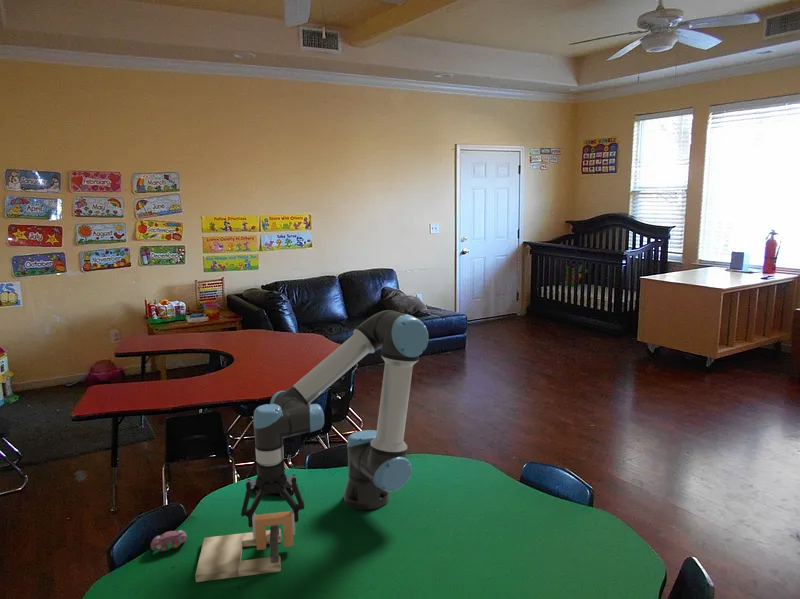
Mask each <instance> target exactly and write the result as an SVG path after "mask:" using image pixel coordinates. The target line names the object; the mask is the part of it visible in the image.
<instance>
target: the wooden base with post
mask: <svg viewBox="0 0 800 599" xmlns="http://www.w3.org/2000/svg"><path fill="white" fill-rule="evenodd" d="M279 526H280V524H278V525H270V526H269V530H267V529H266V545H269V552H270V554H269V555H270V556H268V557H261V558H260V557H259V558H254V559H253V558H252V559H246V560H242V554H243V548H247V547H251V546H253V547H255V546H257V544H256V539H254V538H253V531H251V532H250V531H249V532H243V533H233V534H226V535H217V536H208V537H207V536H206V537H204V538H203V542H202V546H201V551H200V554H199V557H198V562H197V566H196V569H195V570H196V571H195V582H196V583H200V582H206V581H214V580H224V579H231V578H238V577H239V578H240V577H245V576H246V577H247V576H253V575H255V576H256V575H261V574H262V575H263V574H268V573H269V574H270V573H278V572H281V570H282V569H281V567H282V566H281V564H282V559H281V555H279V543H282V529H281V528H280V527H279Z"/></svg>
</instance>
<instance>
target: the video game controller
mask: <svg viewBox="0 0 800 599" xmlns="http://www.w3.org/2000/svg"><path fill="white" fill-rule="evenodd" d="M187 540H188V535H187V533H186V532H185V531H184V530H182V529H180V530H169V531H166V532H164V533H162V534H160V535H156V536H155V537H154V538H153V539H152V540H151V542H150V549H151V551H153V552H154V551H160V552H162V551H163V552H165V551H167V550H168V549H169V546H168V544H171V548H172V549H177V548H179V547H180V545H183V543H185V542H186V541H187Z"/></svg>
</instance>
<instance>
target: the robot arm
mask: <svg viewBox="0 0 800 599" xmlns="http://www.w3.org/2000/svg"><path fill="white" fill-rule="evenodd" d="M428 344H429V332H428V329H427V326H426V325H425V324H424V322H423V321H422V320H421V319H419V318H416V317H415V316H413V315H410V314H406V313H403V312H399V311H395V310H390V309H387V310H382V311H380V312H377V313H374V314H373V315H371V316H370V317H368V318H367V319H366V320H365V321H362V323H360V324H359V325H358V326H357V327H356V328H355V329H353V334H352V335H351V336H350V337H349V338H348V339H346V340H345V341H344V342H343V343H341V344H340V345H339V346H338V347H337V348H335V350H334V351H332V352H331V353H330V354H329V355H328V356H327V357H325V358H324V359H323V360H322V361H320V362H319V363H318V364H317V365H316V366H314V367H313V368H312V369H310V371H309V372H308V373H307V374H305V375H304V376H303V377H301V378H300V379H299V380H298V381H297V382H296V383H294V384H293V385H292V386H291V387H289V388H288V389H287V390H280V391H277V392H276V393H274V394H273V395H272V396H271V399H270V402H269V404H268V403H266V404H262V405H259V406H257V407H256V408H255V410H253V423H252V424H253V430H254V432H253V433H254V442H255V447H254V448H255V450H254V451H255V461H256V478H255V479H251V478H249V479H246V484H245V488H246V491H245V494H244V499H243V503H242V507H241V510H240V511H241V512H240V516H241V517H247V521H248V527H249V528H252V532H253V538H254V539H256V528H255V516H256V515H257V514H256V510H257V508H258V506H259V505H260V503H261V501H262V498H264V496H265V494H266V495H270V494H271V493H278V492H279V493H280V494H281V495H282V496H283V497H282V498H283V499H284V500H285V502H286V503H287V505H289V507H290V508H291V509H290V511H291V516H292V534H293V536H294V535H296V523H298V522H299V520H300V517H299V511H301V510H304V509H305V501H304V499H303V496H302V494H301V491H300V489H299V485H298V486H297V484H298V483H297V474H292V475H286V472H285V468H286V467H285V460H284V458H285V456H284V455H285V454H284V453H285V452H284V439H285V438H289V437H294V436H298V435H302V434H307V433H308V434H309V433H312V432H316V431H318V430H321V429H322V428H324V425H325V413H324V411H323V408H322V406H321V405H320V404H318V403H312V402H314V401H315V400H316V399H317V398H318V397H319V396H320V395H322V393H324V392H325V391H326V390H327V389H328V388H329V387H330V386H332V385H333V384H334V383H335V382H336V381H338V380H339V379H340V378H342V376H343V375H345V374H346V373H347V372H348V371H349V370H351V369H352V367H354V366H355V365H356V364H357V363H358V362H359V361H361V360H362V359H363V358H364V357H366V356H367V355H368V354H375V352H376V351H377V350H379V349H380V348H381V353H380V358H382V360H383V361H384V370H383V376H382V377H383V378H382V384H381V392H380V400H379V408H378V417H377V424H376V430H373V429H365V430H360V431H359V430H358V431H355V432H353V433H351V434H349V435H348V437H347V440H346V441H347V443H346V444H347V445H346V447H347V474H348V478H347V481H346V485H345V488H344V492H343V501H344V504H345V505H346V506H348V507H349V508H351V509H354V510H361V511H370V510H375V509H378V508H381V507H383V506H385V505H386V504H387V503H388V502H389V501H390V493H391V492H396V491H398V490H400V489H401V488H403V487H404V485H406V484H407V483H408V481H409V480H410V477H411V476H412V464H411V462H410V460H409V459H407V455H408V454H407V453H408V445H407V443H406V442H405V441H404V439H405V431H406V430H405V429H406V424H407V422H406V421H407V415H408V414H407V413H408V407H409V399H410V391H411V383H412V376H413V375H412V374H413V367H414V365H415V364H417V363H418V362H419V361H420V355H422V354H423V352H424V351H426V349H427V347H428ZM286 481H288V482H289V484H291V485H292V488H293V494H294V496H295V499H296V501H295V500H294V498H293V497H292V496H291V495H292V494H289V493H288V491H287V490H286V488H285V486H284V484H285V483H286ZM254 485H257V486H258V487H259V488H260V490H259V492H258V494H257V495H256V496H255V498H254V499H253V502H252V503H251V505H250V507H249V509H248V505H249V501H250V498H251V494H252V491H251V489H253V488H254ZM296 502H297V503H296Z"/></svg>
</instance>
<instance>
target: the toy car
mask: <svg viewBox="0 0 800 599" xmlns="http://www.w3.org/2000/svg"><path fill="white" fill-rule="evenodd" d="M284 486H285V488H286V490H287V491H288V493H289V494H290V495H292V494H294V491H293V488H292V485H291V484H289V482H288V481H286V483H285V484H284ZM297 486H298V487H299V485H298V483H297ZM259 490H260V488H259V487H258V486H257V485H254V488H253V489H251V492H254V494H255V495H256V496H257V494H258V492H259ZM270 494H272V495H273V494H274V495H275V494H276V495H279V496H280V497H281V498H284V497H283V496H282V495H281V494H280V493H279V492H278V493H270Z"/></svg>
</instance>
